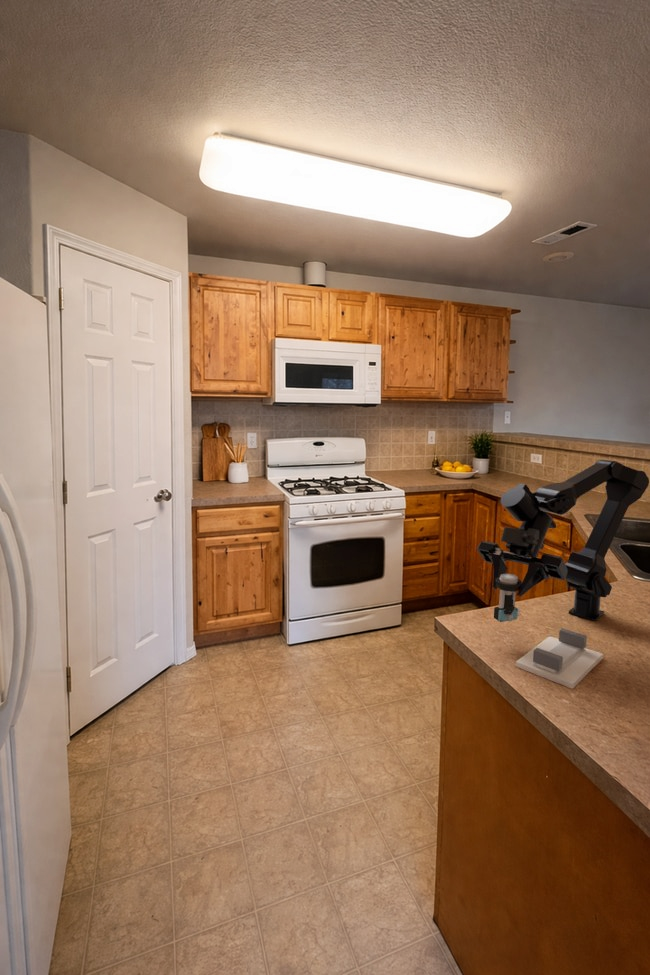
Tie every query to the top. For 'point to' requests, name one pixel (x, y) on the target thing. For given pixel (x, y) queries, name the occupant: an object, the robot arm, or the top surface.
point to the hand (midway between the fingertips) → (506, 592)
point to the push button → (507, 598)
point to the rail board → (561, 658)
